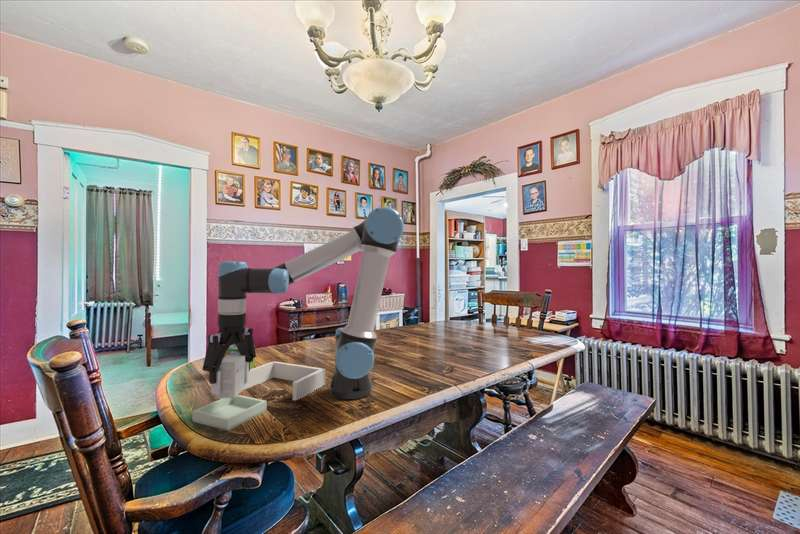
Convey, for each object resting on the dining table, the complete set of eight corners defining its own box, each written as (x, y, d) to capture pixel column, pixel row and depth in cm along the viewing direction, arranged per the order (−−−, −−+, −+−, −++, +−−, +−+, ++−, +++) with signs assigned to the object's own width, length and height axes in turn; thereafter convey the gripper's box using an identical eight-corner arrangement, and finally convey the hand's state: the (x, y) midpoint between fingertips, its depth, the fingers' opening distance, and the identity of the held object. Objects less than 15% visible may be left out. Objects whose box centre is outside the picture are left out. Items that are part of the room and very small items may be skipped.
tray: (266, 410, 103) (266, 400, 103) (227, 431, 90) (228, 419, 90) (233, 402, 108) (233, 393, 108) (192, 421, 95) (192, 410, 95)
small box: (226, 388, 103) (227, 354, 103) (245, 388, 103) (245, 354, 103) (214, 398, 95) (214, 362, 95) (234, 398, 95) (235, 361, 95)
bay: (325, 384, 126) (325, 368, 126) (296, 400, 110) (296, 382, 110) (273, 375, 135) (273, 361, 135) (240, 389, 120) (240, 372, 120)
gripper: (251, 308, 111) (250, 375, 111) (187, 316, 90) (186, 399, 90) (269, 309, 108) (268, 378, 108) (207, 319, 87) (205, 404, 87)
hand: (230, 388), depth 99 cm, fingers closed on small box, 9 cm apart
